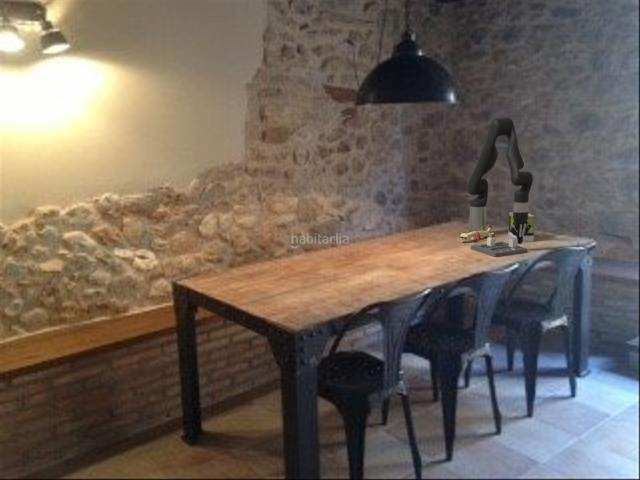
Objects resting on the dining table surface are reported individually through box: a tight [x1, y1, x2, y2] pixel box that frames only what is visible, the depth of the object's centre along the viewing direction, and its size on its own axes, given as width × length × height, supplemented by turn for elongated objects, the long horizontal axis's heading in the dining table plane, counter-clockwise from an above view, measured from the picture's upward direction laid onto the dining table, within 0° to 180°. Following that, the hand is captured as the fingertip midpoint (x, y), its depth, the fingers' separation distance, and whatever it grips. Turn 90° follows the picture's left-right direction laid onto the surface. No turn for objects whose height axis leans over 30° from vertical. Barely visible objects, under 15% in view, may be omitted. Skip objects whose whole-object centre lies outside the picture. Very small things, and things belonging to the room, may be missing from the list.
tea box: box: [507, 211, 536, 243], centre depth 325 cm, size 15×10×15 cm, turn 179°
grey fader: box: [508, 238, 519, 247], centre depth 299 cm, size 3×3×5 cm
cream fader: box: [486, 236, 496, 246], centre depth 304 cm, size 3×3×5 cm
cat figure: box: [459, 223, 496, 243], centre depth 329 cm, size 10×9×25 cm
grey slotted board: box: [470, 241, 528, 258], centre depth 302 cm, size 20×20×2 cm
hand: (519, 243), depth 301 cm, fingers closed
